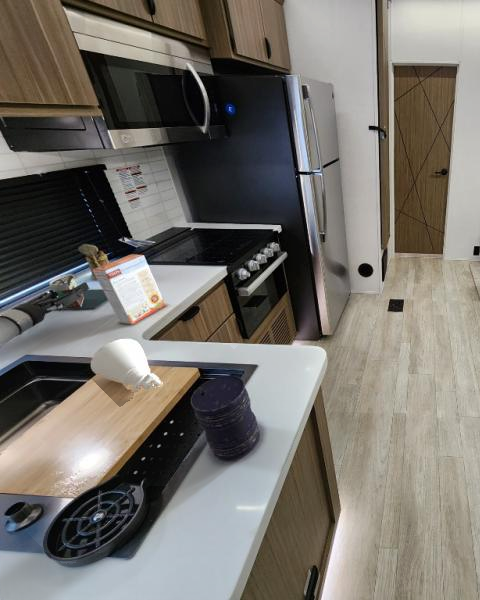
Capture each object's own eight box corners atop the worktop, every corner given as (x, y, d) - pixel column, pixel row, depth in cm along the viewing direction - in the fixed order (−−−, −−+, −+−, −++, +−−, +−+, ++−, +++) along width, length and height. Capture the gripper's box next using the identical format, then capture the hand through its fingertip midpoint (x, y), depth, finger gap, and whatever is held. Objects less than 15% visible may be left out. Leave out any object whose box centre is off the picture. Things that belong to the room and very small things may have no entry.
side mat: (40, 310, 124) (39, 309, 124) (74, 291, 138) (74, 290, 138) (94, 309, 125) (94, 308, 125) (123, 289, 139) (123, 288, 138)
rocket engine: (149, 369, 80) (110, 334, 86) (117, 412, 78) (79, 373, 84) (187, 374, 91) (150, 343, 97) (160, 412, 88) (124, 378, 95)
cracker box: (153, 303, 128) (131, 253, 118) (166, 305, 126) (145, 254, 116) (118, 323, 116) (90, 268, 106) (132, 325, 115) (105, 270, 104)
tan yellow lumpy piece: (90, 285, 142) (69, 246, 133) (94, 274, 152) (74, 237, 143) (115, 280, 146) (97, 241, 138) (118, 270, 156) (100, 233, 148)
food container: (64, 300, 128) (50, 276, 124) (84, 295, 131) (72, 272, 127) (58, 313, 120) (43, 289, 115) (80, 308, 123) (67, 284, 118)
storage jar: (264, 420, 78) (250, 372, 71) (255, 457, 70) (237, 407, 62) (220, 426, 77) (200, 378, 69) (205, 465, 68) (181, 414, 61)
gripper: (-1, 329, 107) (60, 295, 127) (55, 327, 107) (107, 293, 128) (-16, 309, 103) (50, 277, 123) (43, 307, 104) (99, 276, 124)
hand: (79, 285), depth 126 cm, fingers closed on food container, 5 cm apart
